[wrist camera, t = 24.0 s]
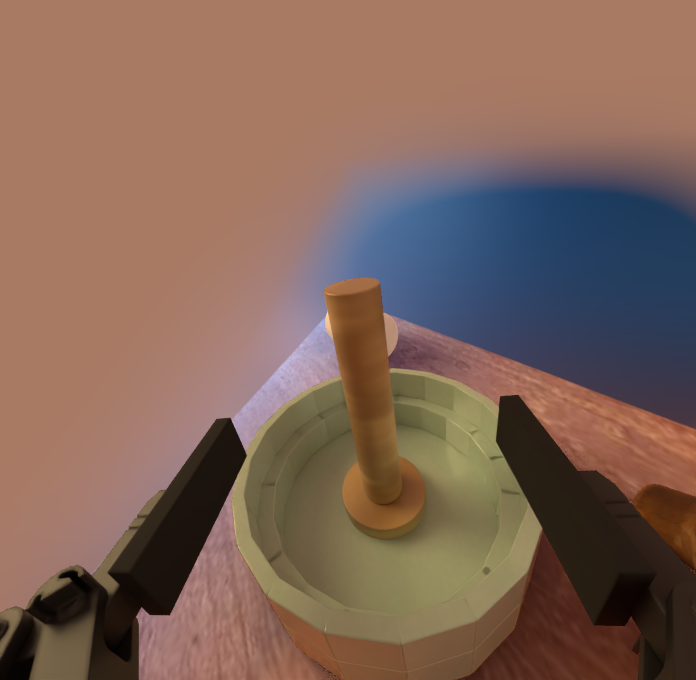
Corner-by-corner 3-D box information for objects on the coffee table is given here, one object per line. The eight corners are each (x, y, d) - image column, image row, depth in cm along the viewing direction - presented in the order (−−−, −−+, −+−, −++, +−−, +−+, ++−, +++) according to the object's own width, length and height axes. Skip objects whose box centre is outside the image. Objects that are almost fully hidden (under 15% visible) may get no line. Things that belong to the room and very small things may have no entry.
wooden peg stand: (330, 519, 21) (265, 306, 13) (363, 454, 26) (329, 272, 18) (414, 555, 18) (389, 307, 10) (433, 474, 23) (426, 266, 15)
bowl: (204, 582, 19) (162, 526, 16) (336, 404, 34) (327, 359, 32) (547, 837, 10) (585, 808, 7) (520, 441, 25) (529, 383, 22)
